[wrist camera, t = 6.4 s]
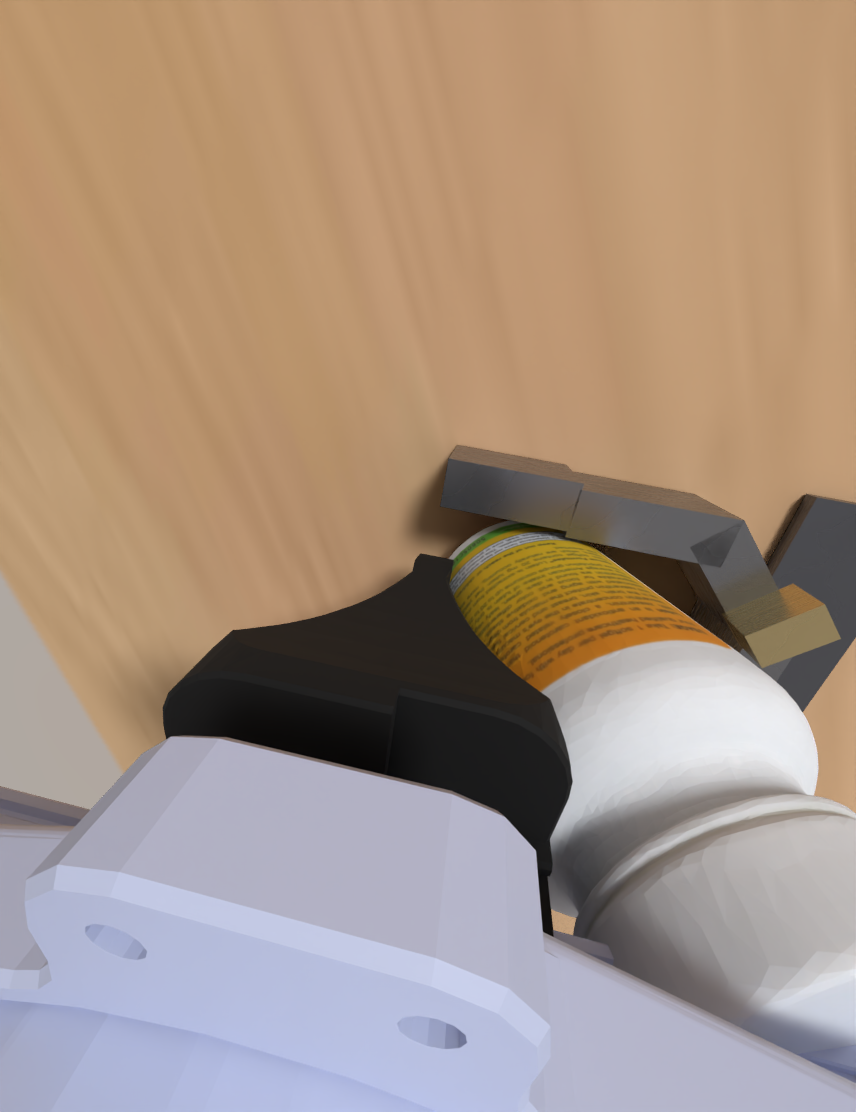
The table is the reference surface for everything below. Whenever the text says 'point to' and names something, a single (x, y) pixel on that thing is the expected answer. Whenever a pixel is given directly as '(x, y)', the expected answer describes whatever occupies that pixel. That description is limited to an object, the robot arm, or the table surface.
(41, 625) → the table surface
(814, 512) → the socket
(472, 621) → the supplement bottle
